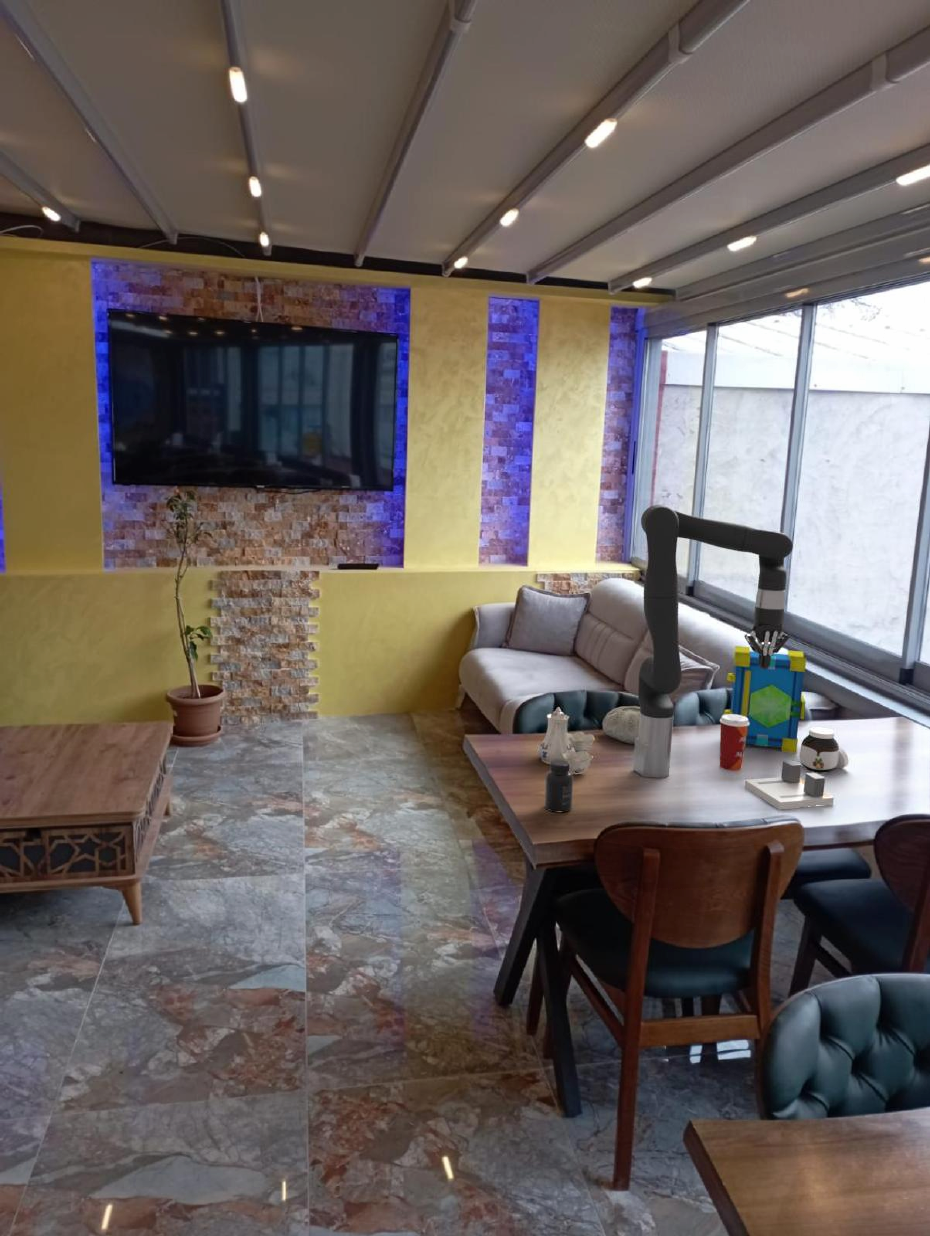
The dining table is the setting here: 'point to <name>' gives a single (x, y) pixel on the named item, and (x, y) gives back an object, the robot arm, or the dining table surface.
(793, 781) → the block
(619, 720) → the decorative shell
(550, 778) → the supplement bottle
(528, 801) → the dining table surface
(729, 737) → the coffee cup
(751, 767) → the dining table surface
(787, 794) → the panel
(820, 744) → the spread jar
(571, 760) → the chinaware
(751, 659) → the blue yellow rectangular box
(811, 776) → the breaker
